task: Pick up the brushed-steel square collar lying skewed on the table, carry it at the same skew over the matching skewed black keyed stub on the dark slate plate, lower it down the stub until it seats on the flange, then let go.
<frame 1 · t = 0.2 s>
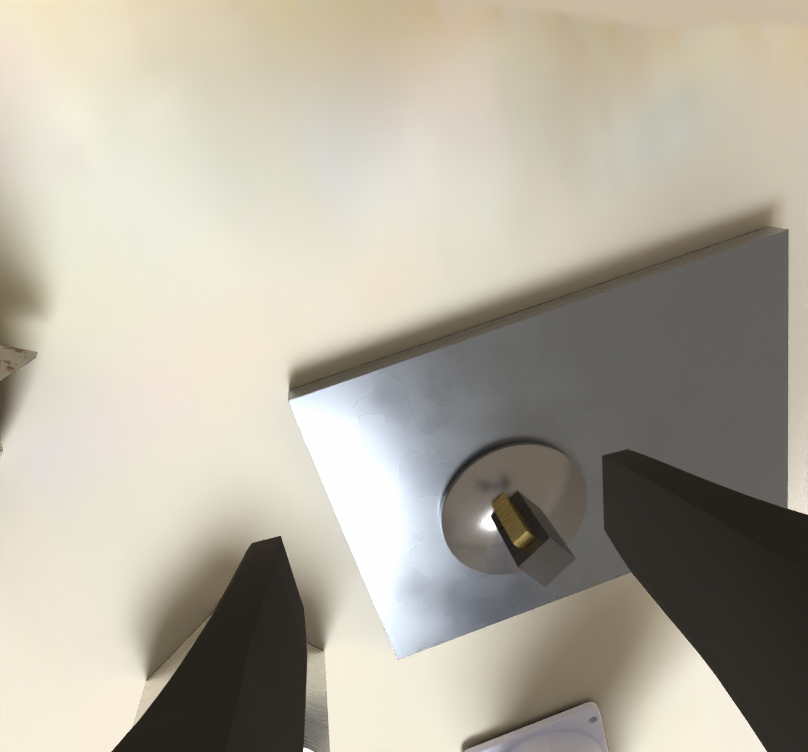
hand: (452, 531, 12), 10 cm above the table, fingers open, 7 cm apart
collar: (237, 666, 25), on the table
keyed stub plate: (563, 453, 24), on the table
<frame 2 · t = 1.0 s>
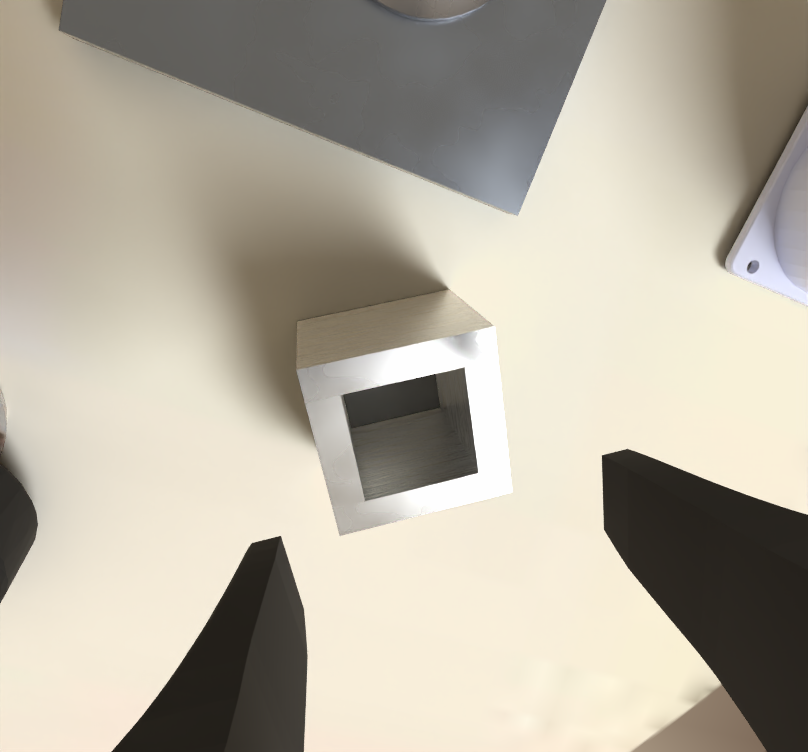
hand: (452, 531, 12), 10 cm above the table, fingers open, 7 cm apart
collar: (388, 375, 21), on the table
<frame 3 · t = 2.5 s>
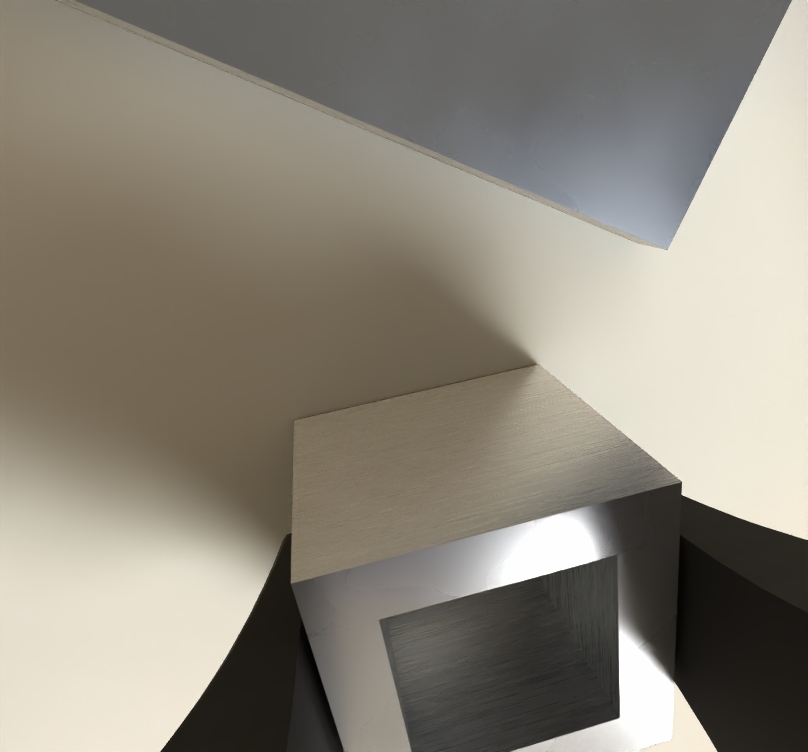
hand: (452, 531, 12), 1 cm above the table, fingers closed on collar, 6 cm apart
collar: (437, 495, 13), on the table, touching gripper
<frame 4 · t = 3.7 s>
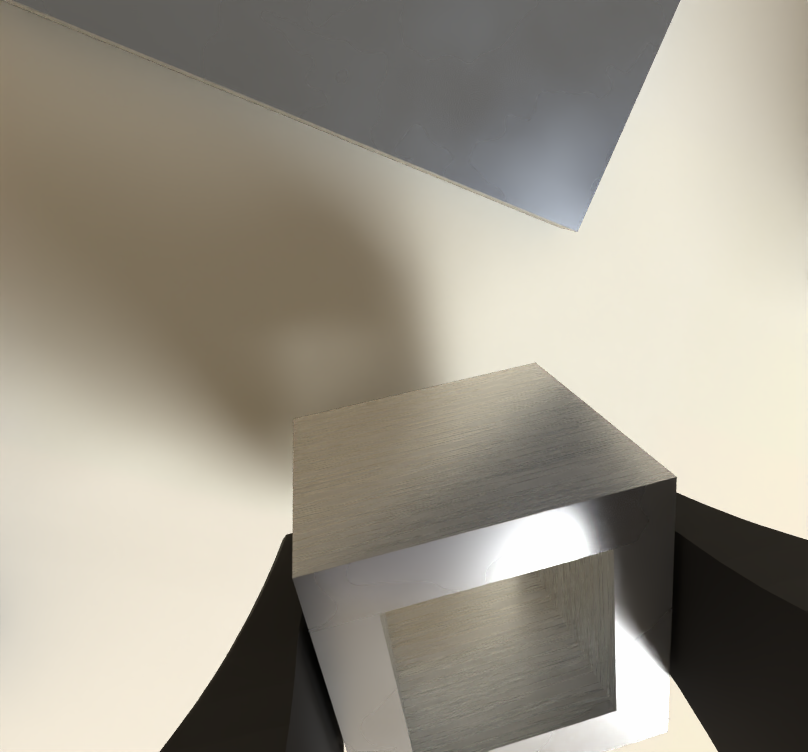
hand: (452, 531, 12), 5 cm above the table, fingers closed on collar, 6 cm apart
collar: (435, 493, 13), point 3 cm above the table, touching gripper
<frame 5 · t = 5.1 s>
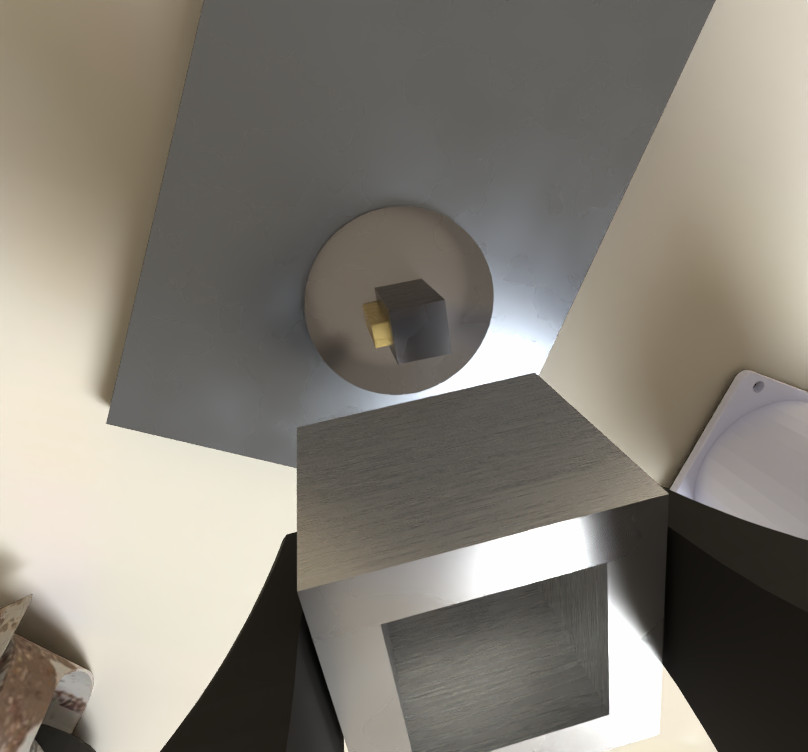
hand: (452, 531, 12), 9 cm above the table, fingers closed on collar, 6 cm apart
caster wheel: (25, 706, 23), on the table
collar: (435, 499, 13), point 8 cm above the table, touching gripper
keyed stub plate: (398, 204, 18), on the table
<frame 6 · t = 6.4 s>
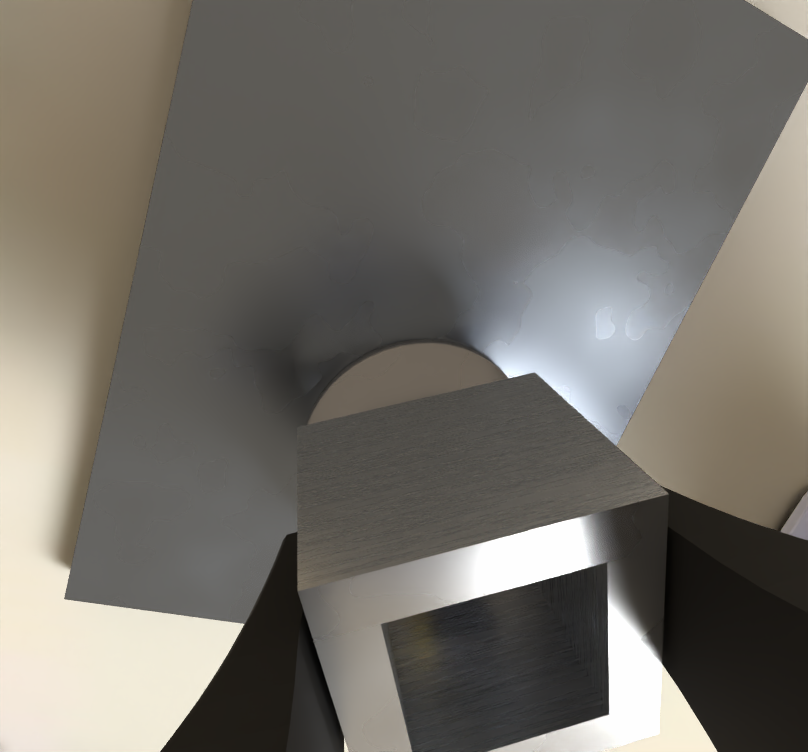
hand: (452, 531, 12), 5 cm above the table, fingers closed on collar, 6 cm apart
collar: (435, 498, 13), point 3 cm above the table, touching gripper
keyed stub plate: (414, 329, 15), on the table
when the fingers open (3 cm above the table, at t = 7.3 s): collar stays where it is, resting on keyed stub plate.
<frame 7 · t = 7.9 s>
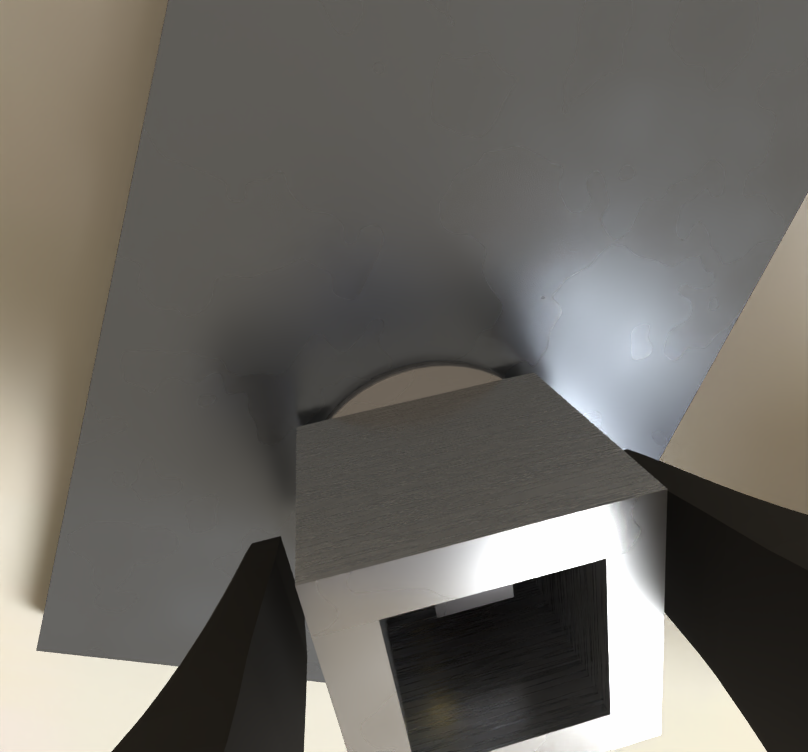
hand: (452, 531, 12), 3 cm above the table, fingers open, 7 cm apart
collar: (435, 499, 13), point 1 cm above the table, touching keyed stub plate
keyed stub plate: (428, 349, 14), on the table
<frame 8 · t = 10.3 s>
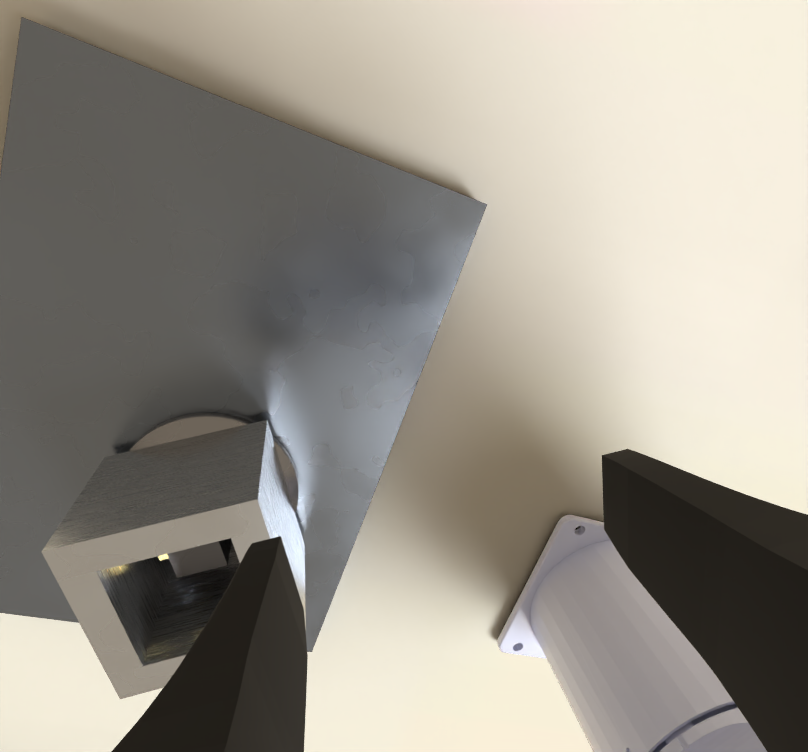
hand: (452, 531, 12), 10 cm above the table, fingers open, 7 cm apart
collar: (211, 503, 20), point 1 cm above the table, touching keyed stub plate
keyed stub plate: (207, 402, 20), on the table
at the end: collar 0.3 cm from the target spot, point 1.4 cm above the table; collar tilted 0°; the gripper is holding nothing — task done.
